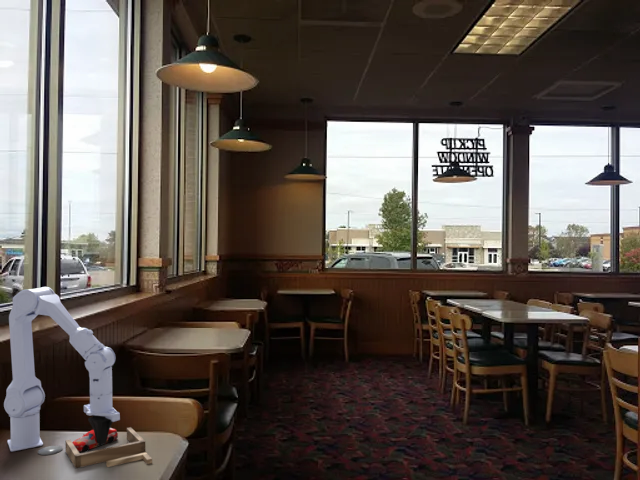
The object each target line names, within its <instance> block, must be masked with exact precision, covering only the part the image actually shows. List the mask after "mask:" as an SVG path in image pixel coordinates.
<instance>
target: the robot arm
mask: <svg viewBox="0 0 640 480" xmlns="http://www.w3.org/2000/svg"><path fill="white" fill-rule="evenodd" d="M38 315H42V316H48V317H49V318H51V319H52V320H53V321H54V322H55V323H56V324H57V325H58V326H59V327H60V328H61V329H62V330H63V331H64V332H65V333H66V334H67V335H68V336H69V340H68V341H69V343H70V344H71V346H72V347H73V348H74V349H75V351H77V352H78V353H79V355H80V356H81V357H82V358H83V359H84V360H85V361H84V366H85V368H86V370H87V371H88V377H89V403H88V404H84V405H83V412H84V413H85V414H86V415H87V416H92V417H89V418H88V422H89V425H91V427H92V430H94V433H95V437H96V440H97V443H98V444H102V443H105V442H106V441H107V437H108V433H109V429H110V428H112V427H111V426H112V424H113V423H114V422H117V421H121V415H120V412H119V411H117V410H116V409H115V408H114V407H113V370H112V369H113V366H114V364H115V363H116V354H115V352H114V350H113V349H112V348H111V347H108V346H105V344H103V343H102V342H101V341H100V340H98V339H97V337H96V336H95V335H93V334H94V332H93V329H89V328H87V327H81V326H80V325H79V324H78V322H77V321H76V320H75V319H74V317H73V316H72V315H71V314H70V312H69V311H68V310H67V308H66V307H65V306H64V305H63V304H62V302H61V298H60V296H59V295H58V294H56V293H55V291H54V290H53V289H52V288H51V287H49V286H42V287H38V288H37V287H36V288H29V289H21V290H20V291H19V292H17V293H16V295H14V296H13V297H12V307H11V310H10V312H9V315H8V324H9V339H10V340H9V341H10V343H9V344H10V355H11V356H10V357H11V371H12V372H11V373H12V380H11V382H10V384H9V385H8V386H7V388H6V394H5V395H6V396H5V399H4V402H3V407H4V408H3V409H4V410H5V412H6V413H7V414H8V417H10V420H9V421H10V439H7V445H8V449H9V451H10V452H16V451H21V450H26V449H32V448H36V447H42V446H44V442H43V440H42V439H41V437H40V436H41V433H40V432H41V431H40V422H41V421H40V419H41V418H40V410H41V406H42V404H43V403H44V402H45V399H46V398H45V397H46V394H45V391H44V389H43V387H42V381H41V380H40V379H39V378H37V377H36V372H35V371H36V370H35V357H34V356H35V355H34V341H33V340H34V339H33V328H32V326H33V325H32V324H33V322H32V321H33V320H35V318H36V317H37V316H38Z"/></svg>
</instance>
